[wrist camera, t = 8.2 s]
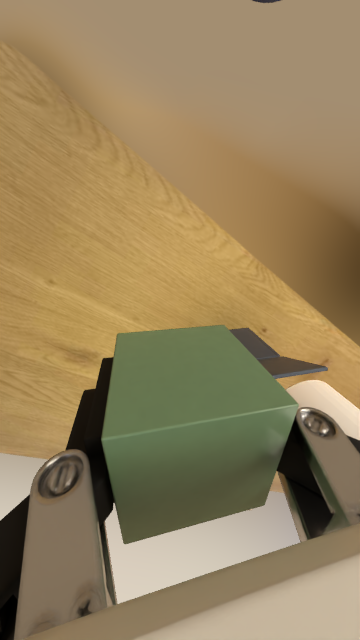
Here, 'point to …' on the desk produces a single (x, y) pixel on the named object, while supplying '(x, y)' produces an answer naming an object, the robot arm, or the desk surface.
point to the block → (190, 429)
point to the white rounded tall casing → (328, 404)
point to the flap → (289, 367)
